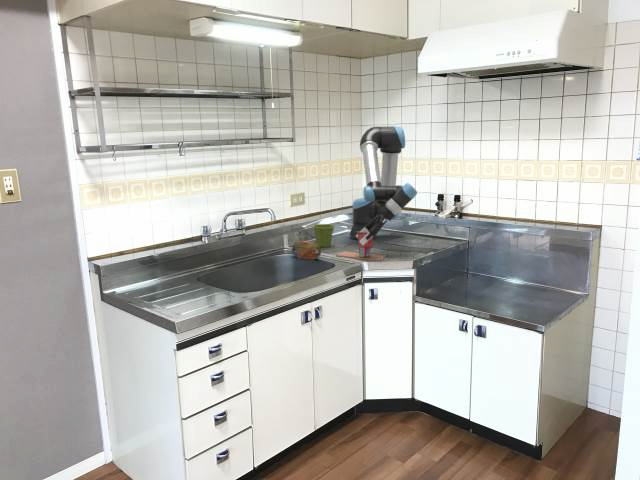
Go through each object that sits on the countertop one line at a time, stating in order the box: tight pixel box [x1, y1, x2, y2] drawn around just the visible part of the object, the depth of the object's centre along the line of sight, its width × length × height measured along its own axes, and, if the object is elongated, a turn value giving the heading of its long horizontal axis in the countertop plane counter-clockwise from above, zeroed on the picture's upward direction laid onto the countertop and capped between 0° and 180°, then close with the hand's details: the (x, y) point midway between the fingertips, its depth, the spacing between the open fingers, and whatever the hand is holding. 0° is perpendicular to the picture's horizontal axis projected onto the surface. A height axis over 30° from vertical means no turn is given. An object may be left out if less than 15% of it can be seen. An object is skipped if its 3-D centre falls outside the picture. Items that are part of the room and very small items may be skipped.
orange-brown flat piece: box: [291, 240, 322, 261], centre depth 257 cm, size 15×3×8 cm, turn 62°
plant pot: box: [312, 223, 335, 248], centre depth 284 cm, size 12×12×11 cm
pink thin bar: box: [346, 250, 388, 256], centre depth 267 cm, size 2×22×1 cm, turn 64°
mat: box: [335, 250, 386, 261], centre depth 261 cm, size 10×22×1 cm, turn 64°
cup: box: [357, 232, 374, 257], centre depth 256 cm, size 9×8×12 cm
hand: (359, 240), depth 259 cm, fingers open, 13 cm apart
